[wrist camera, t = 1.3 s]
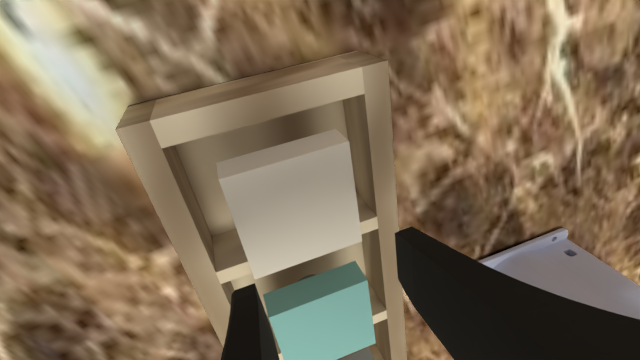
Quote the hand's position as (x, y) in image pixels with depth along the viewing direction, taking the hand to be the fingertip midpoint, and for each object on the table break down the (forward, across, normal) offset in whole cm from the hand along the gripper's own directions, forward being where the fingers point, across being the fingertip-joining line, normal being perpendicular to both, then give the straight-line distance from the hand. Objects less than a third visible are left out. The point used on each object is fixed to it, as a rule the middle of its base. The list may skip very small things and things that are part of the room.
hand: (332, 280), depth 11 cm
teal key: (+7, 0, +8) cm, 10 cm away
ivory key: (+7, 0, 0) cm, 7 cm away
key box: (+9, 0, +8) cm, 12 cm away
